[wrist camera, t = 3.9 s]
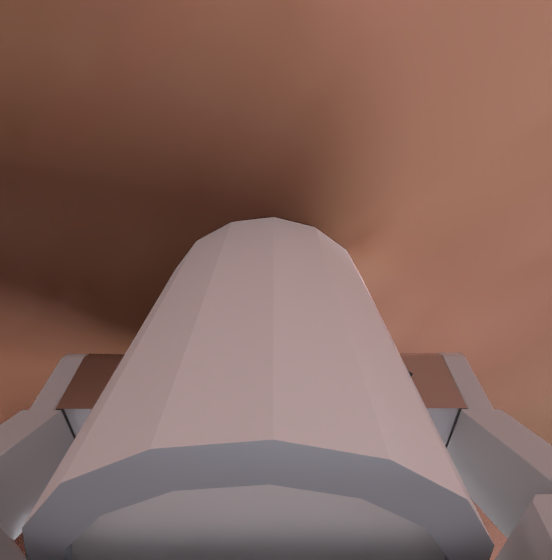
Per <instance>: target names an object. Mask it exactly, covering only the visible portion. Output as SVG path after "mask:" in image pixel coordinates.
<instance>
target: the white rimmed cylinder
mask: <svg viewBox="0 0 552 560" xmlns="http://www.w3.org/2000/svg"><path fill="white" fill-rule="evenodd" d="M22 532H23V539H24V546H25V553H26V559H27V560H489V559H490V556H491V554H492V551H493V548H494V544H493V542H492V540H491V537H490V535H489V533H488V531H487V529H486V527H485V525H484V523H483V521H482V519H481V517H480V515H479V513H478V511H477V509H476V507H475V505H474V503H473V501H472V499H471V497H470V495H469V493H468V491H467V489H466V487H465V485H464V483H463V481H462V479H461V477H460V475H459V473H458V471H457V469H456V467H455V465H454V463H453V461H452V459H451V457H450V455H449V453H448V451H447V449H446V447H445V445H444V443H443V441H442V439H441V437H440V435H439V433H438V431H437V429H436V427H435V425H434V422H433V420H432V418H431V416H430V414H429V412H428V410H427V408H426V406H425V404H424V402H423V400H422V398H421V396H420V394H419V392H418V390H417V388H416V386H415V384H414V382H413V380H412V378H411V376H410V374H409V372H408V370H407V368H406V366H405V364H404V362H403V360H402V358H401V356H400V354H399V352H398V350H397V348H396V346H395V344H394V342H393V340H392V338H391V336H390V334H389V332H388V330H387V328H386V326H385V324H384V322H383V320H382V318H381V316H380V314H379V312H378V310H377V308H376V305H375V303H374V301H373V299H372V297H371V295H370V293H369V291H368V289H367V287H366V285H365V283H364V281H363V279H362V277H361V276H360V274H359V272H358V270H357V268H356V267H355V265H354V263H353V261H352V259H351V257H350V256H349V254H348V252H347V250H346V249H344V248H343V247H342V246H340V245H339V244H338V243H336V242H335V241H333V240H332V239H331V238H329V237H328V236H327V235H325V234H324V233H322V232H321V231H320V230H318V229H317V228H316V227H312V226H308V225H304V224H300V223H296V222H292V221H288V220H284V219H280V218H276V217H269V218H261V219H252V220H243V221H235V222H230V223H229V224H227V225H225V226H223V227H221V228H219V229H217V230H216V231H214V232H212V233H210V234H208V235H206V236H204V237H203V238H201V239H199V240H197V241H196V242H195V244H194V245H193V246H192V248H191V249H190V250H189V252H188V253H187V254H186V256H185V257H184V258H183V260H182V261H181V262H180V264H179V265H178V266H177V268H176V269H175V271H174V272H173V274H172V276H171V277H170V279H169V281H168V282H167V284H166V286H165V287H164V289H163V291H162V293H161V294H160V296H159V298H158V299H157V301H156V303H155V304H154V306H153V308H152V309H151V311H150V313H149V314H148V316H147V318H146V319H145V321H144V323H143V325H142V326H141V328H140V330H139V331H138V333H137V335H136V336H135V338H134V340H133V341H132V343H131V345H130V346H129V348H128V350H127V351H126V353H125V355H124V357H123V358H122V360H121V362H120V363H119V365H118V367H117V368H116V370H115V372H114V373H113V375H112V377H111V378H110V380H109V382H108V384H107V385H106V387H105V389H104V390H103V392H102V394H101V395H100V397H99V399H98V400H97V402H96V404H95V405H94V407H93V409H92V410H91V412H90V414H89V416H88V417H87V419H86V421H85V422H84V424H83V426H82V427H81V429H80V431H79V432H78V434H77V436H76V437H75V439H74V441H73V442H72V444H71V446H70V448H69V449H68V451H67V453H66V454H65V456H64V458H63V459H62V461H61V463H60V464H59V466H58V468H57V469H56V471H55V473H54V475H53V476H52V478H51V480H50V481H49V483H48V485H47V486H46V488H45V490H44V491H43V493H42V495H41V496H40V498H39V500H38V501H37V503H36V505H35V507H34V508H33V510H32V512H31V513H30V515H29V517H28V518H27V520H26V522H25V523H24V525H23V527H22Z"/></svg>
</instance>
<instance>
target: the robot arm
mask: <svg viewBox="0 0 552 560" xmlns="http://www.w3.org/2000/svg"><path fill="white" fill-rule="evenodd" d="M124 355H125V354H66V355H65V356H63V357H62V358H61V359H60V361H59V363H58V364H57V366H56V367H55V369H54V371H53V372H52V374H51V375H50V377H49V379H48V380H47V382H46V383H45V385H44V387H43V388H42V390H41V391H40V393H39V395H38V396H37V398H36V399H35V401H34V403H33V404H32V406H31V407H30V409H29V410H22V411H20V412H19V413H17V414H16V415H14V416H13V417H11V418H10V419H8V420H7V421H5V422H4V423H2V424H1V425H0V560H27V559H26V556H25V554H24V553H23V552H22V550H21V549H20V548H19V547H18V545H17V544H16V543H15V541H14V540H15V539H16V538H17V537H18V536H19V535H20V534H21V533H22V527H23V525H24V523H25V522H26V520H27V518H28V517H29V515H30V513H31V512H32V510H33V508H34V507H35V505H36V503H37V501H38V500H39V498H40V496H41V495H42V493H43V491H44V490H45V488H46V486H47V485H48V483H49V481H50V480H51V478H52V476H53V475H54V473H55V471H56V469H57V468H58V466H59V464H60V463H61V461H62V459H63V458H64V456H65V454H66V453H67V451H68V449H69V448H70V446H71V444H72V442H73V441H74V439H75V437H76V436H77V434H78V432H79V431H80V429H81V427H82V426H83V424H84V422H85V421H86V419H87V417H88V416H89V414H90V412H91V410H92V409H93V407H94V405H95V404H96V402H97V400H98V399H99V397H100V395H101V394H102V392H103V390H104V389H105V387H106V385H107V384H108V382H109V380H110V378H111V377H112V375H113V373H114V372H115V370H116V368H117V367H118V365H119V363H120V362H121V360H122V358H123V357H124ZM400 356H401V358H402V360H403V362H404V364H405V366H406V368H407V370H408V372H409V374H410V376H411V378H412V380H413V382H414V384H415V386H416V388H417V390H418V392H419V394H420V396H421V398H422V400H423V402H424V404H425V406H426V408H427V410H428V412H429V414H430V416H431V418H432V420H433V422H434V425H435V427H436V429H437V431H438V433H439V435H440V437H441V439H442V441H443V443H444V445H445V447H446V449H447V451H448V453H449V455H450V457H451V459H452V461H453V463H454V465H455V467H456V469H457V471H458V473H459V475H460V477H461V479H462V481H463V483H464V485H465V487H466V489H467V491H468V493H469V495H470V497H471V499H472V500H473V501H474V502H475V504H476V505H477V506H478V507H479V508H480V509H481V510H482V511H483V512H484V513H485V514H486V516H487V517H488V518H489V519H490V520H491V521H492V522H493V523H494V524H495V525H496V527H497V528H498V529H499V530H500V531H501V532H502V533H503V534H504V535H505V536H506V537H507V541H506V542H505V544H504V546H503V547H502V549H501V550H500V552H499V554H498V555H497V557H496V558H495V560H552V445H550V444H549V443H547V442H546V441H545V440H543V439H542V438H540V437H539V436H538V435H536V434H535V433H533V432H532V431H531V430H529V429H528V428H526V427H525V426H524V425H522V424H521V423H519V422H518V421H517V420H515V419H514V418H512V417H511V416H510V415H508V414H507V413H505V412H504V411H503V410H501V409H494V408H493V406H492V404H491V403H490V401H489V399H488V397H487V395H486V394H485V392H484V390H483V388H482V386H481V385H480V383H479V381H478V379H477V377H476V376H475V374H474V372H473V370H472V368H471V367H470V365H469V363H468V361H467V359H466V358H465V356H464V355H463V354H462V353H438V354H437V353H406V354H400Z"/></svg>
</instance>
